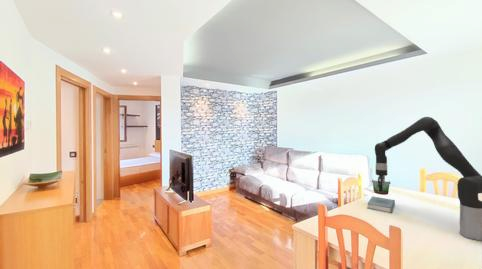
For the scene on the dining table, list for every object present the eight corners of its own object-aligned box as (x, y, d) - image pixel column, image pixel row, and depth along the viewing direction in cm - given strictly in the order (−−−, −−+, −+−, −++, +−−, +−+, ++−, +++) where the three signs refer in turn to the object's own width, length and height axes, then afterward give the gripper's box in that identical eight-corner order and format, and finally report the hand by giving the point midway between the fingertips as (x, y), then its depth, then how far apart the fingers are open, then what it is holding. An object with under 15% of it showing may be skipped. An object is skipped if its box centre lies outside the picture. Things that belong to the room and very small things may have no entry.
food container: (372, 193, 162) (372, 181, 161) (371, 191, 167) (371, 179, 167) (391, 196, 156) (391, 182, 155) (390, 193, 161) (390, 180, 161)
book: (391, 213, 150) (391, 207, 150) (367, 208, 160) (367, 203, 160) (394, 205, 165) (394, 200, 165) (372, 201, 175) (372, 196, 175)
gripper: (385, 170, 153) (386, 193, 154) (388, 167, 164) (388, 189, 165) (373, 169, 158) (374, 191, 159) (377, 166, 169) (377, 187, 170)
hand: (381, 190), depth 162 cm, fingers closed on food container, 5 cm apart
